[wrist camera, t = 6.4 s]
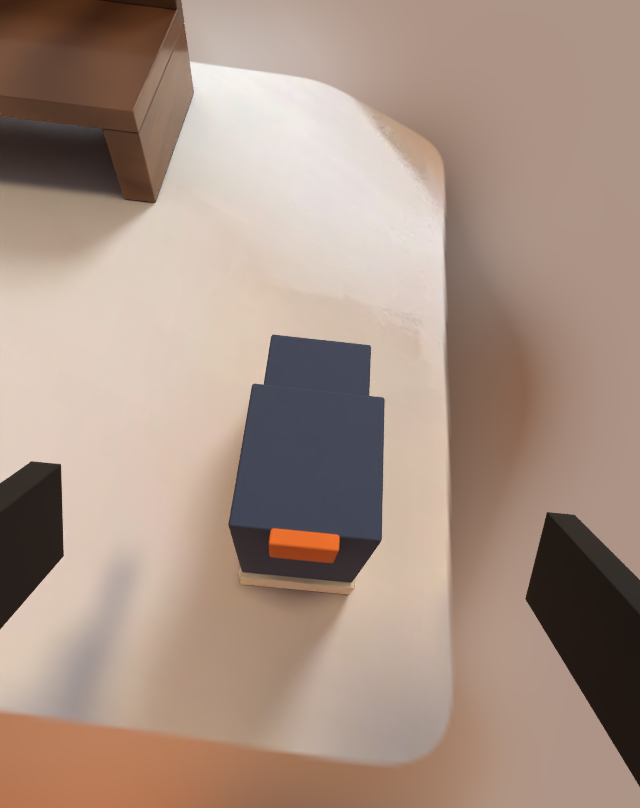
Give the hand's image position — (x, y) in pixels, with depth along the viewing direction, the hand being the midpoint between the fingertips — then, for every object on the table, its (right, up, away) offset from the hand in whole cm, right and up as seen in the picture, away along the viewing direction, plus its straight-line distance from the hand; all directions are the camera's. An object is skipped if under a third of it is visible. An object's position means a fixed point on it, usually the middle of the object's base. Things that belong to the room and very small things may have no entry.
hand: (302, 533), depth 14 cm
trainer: (0, 0, +10) cm, 10 cm away
